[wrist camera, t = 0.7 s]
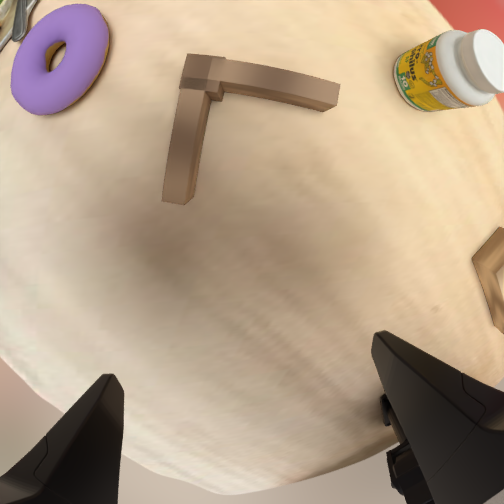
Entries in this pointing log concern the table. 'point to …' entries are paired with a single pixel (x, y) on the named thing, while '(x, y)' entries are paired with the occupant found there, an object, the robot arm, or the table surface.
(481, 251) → the beam
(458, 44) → the supplement bottle
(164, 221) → the table surface
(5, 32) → the salad plate
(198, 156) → the v block
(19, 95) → the donut
